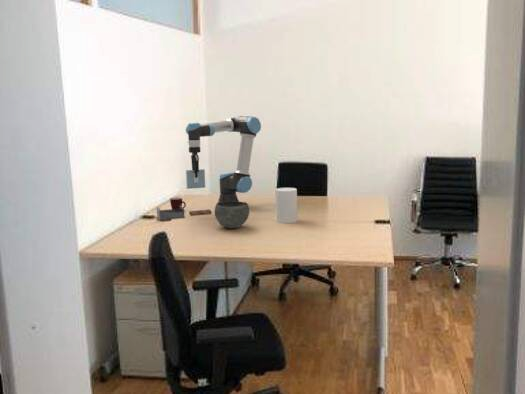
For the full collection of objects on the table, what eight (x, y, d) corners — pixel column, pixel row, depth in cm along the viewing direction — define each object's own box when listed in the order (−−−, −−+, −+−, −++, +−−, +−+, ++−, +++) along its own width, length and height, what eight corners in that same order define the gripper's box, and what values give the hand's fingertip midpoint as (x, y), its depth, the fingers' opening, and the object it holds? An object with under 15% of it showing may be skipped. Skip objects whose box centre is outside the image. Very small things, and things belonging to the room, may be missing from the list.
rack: (180, 215, 391) (180, 204, 390) (184, 218, 379) (184, 208, 378) (157, 217, 387) (156, 206, 385) (159, 221, 374) (159, 210, 373)
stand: (209, 213, 394) (209, 209, 394) (211, 215, 388) (211, 211, 387) (189, 215, 390) (188, 210, 390) (191, 217, 384) (191, 212, 383)
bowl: (242, 232, 339) (241, 207, 336) (209, 230, 346) (208, 205, 344) (254, 224, 358) (254, 200, 356) (223, 222, 366) (222, 199, 363)
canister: (283, 217, 376) (282, 187, 373) (301, 219, 369) (300, 188, 365) (271, 221, 366) (270, 190, 362) (289, 223, 358) (289, 191, 354)
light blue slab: (204, 187, 387) (204, 169, 385) (205, 187, 386) (204, 169, 384) (186, 188, 384) (186, 170, 382) (187, 188, 382) (186, 170, 380)
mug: (183, 210, 406) (182, 196, 404) (187, 212, 399) (187, 198, 398) (169, 212, 401) (168, 198, 399) (173, 214, 394) (173, 199, 392)
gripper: (186, 145, 386) (188, 180, 390) (191, 147, 372) (192, 184, 376) (197, 145, 388) (198, 180, 392) (202, 147, 374) (203, 183, 378)
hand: (195, 182), depth 384 cm, fingers closed on light blue slab, 2 cm apart
